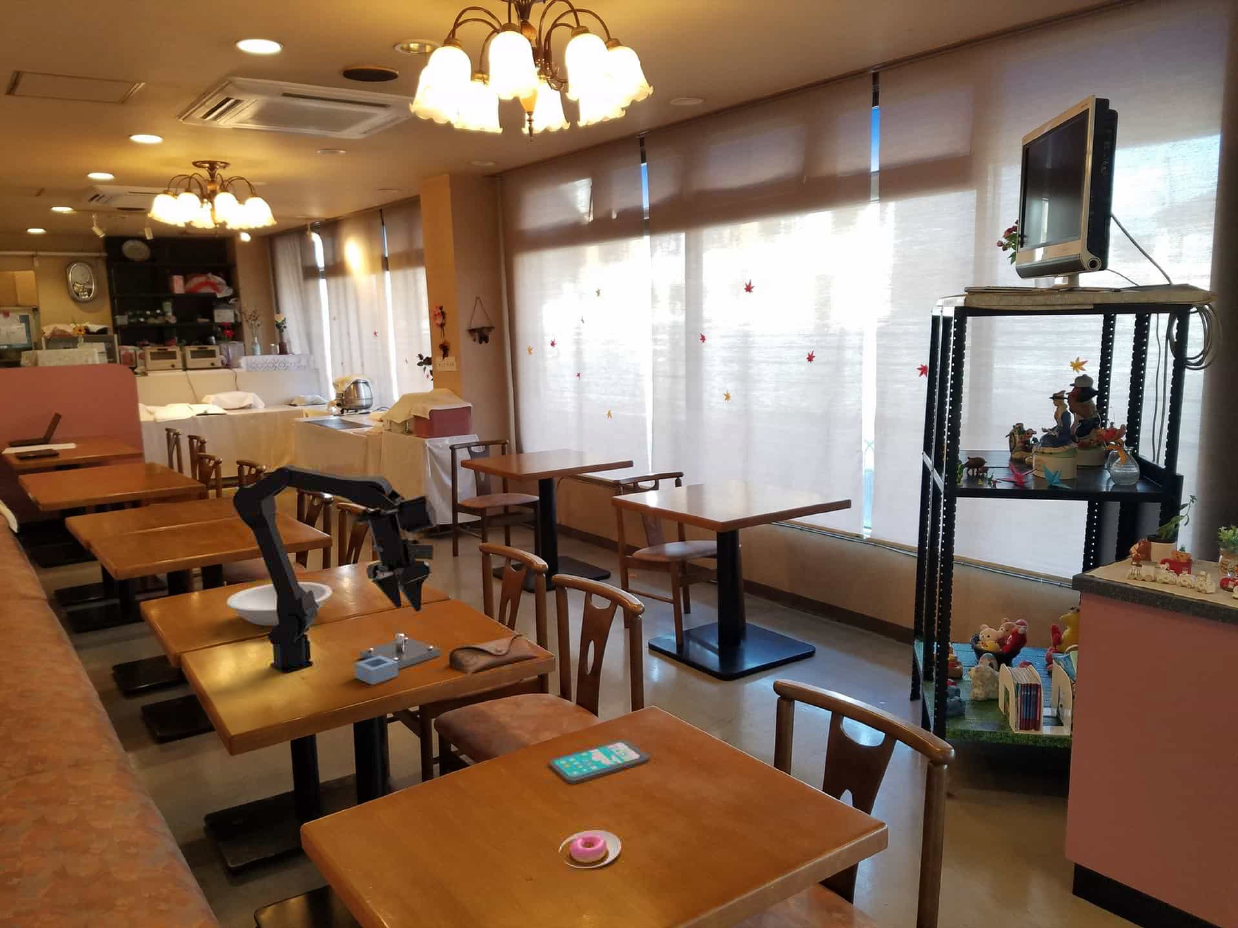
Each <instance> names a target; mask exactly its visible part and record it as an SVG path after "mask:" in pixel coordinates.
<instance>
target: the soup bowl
mask: <svg viewBox="0 0 1238 928" xmlns="http://www.w3.org/2000/svg"><path fill="white" fill-rule="evenodd" d="M298 584H299V586H300V587H301V588H302V589H303V590H304V591H305V592H308V591H310V590H312V591H313V594H314V599H315V601H316V603H317V604H318V605H319V607H318V608H317V611H318V610H320V609H321V607H322V606H323V604H324V603H325V601H326V600H327V599H328V598H329V597H330V596H332V594H333V590H332V588H331V587H329V586H328V585H325V584H322V583H316V582H310V581H308V582H306V581H305V582H303V581H300V582H299V581H298ZM225 603H226V605H227V607H228V608H230V609H232V610H235V612H236V613H237V614H238V615H239V616H240V617H241V618H243V619H244V620H246V621H247V622H249V623H252V624H255V625H260V626H266V627H267V626H269V627H270V626H274V627H276V626H277V625H278V624H279V622H278V617H277V612H276V606H277V594H276V591H275V589H274V586H273V583H269V584H264V585H259V586H254V587H251V588H246V589H243V590H241V591H238V592H236V593H234V594H232V595H230V596H229V597H228V598H227V599H226V602H225Z"/></svg>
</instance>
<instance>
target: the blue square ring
mask: <svg viewBox="0 0 1238 928" xmlns="http://www.w3.org/2000/svg"><path fill="white" fill-rule="evenodd" d="M354 669H355V670H354V671H355V672H354V674H355V678H356V679H358V680H360V681H362V682H365V683H368V684H370V685H377V684H379V683H383V682H385V681H388V680H390V679H393V678H394V679H395V678H397V677H399V670H398V664H397V662H396V661H394V660H391V659H388V658H386V657H383V656H381V655H380V656H377V657H373V658H370V659H367V660H364V659H363V660H361V661H359V662H355V663H354Z"/></svg>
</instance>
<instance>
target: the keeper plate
mask: <svg viewBox="0 0 1238 928" xmlns="http://www.w3.org/2000/svg"><path fill="white" fill-rule="evenodd" d="M394 636H395V640H393V641H389V642H386V643H383V644H380V645H379V644H378V645H375V646H373V647H368V648H366V649H364V650H360V651H359V652H360V653H359V656H360V659H362V660H363V661H364V660H367V659H370V658H373V657H377V656H380V655H381V656H383V657H386V658H388V659H391V660H394V661H396V662H397V664H398V671H399V670H401V669H404V668H407V667H410V666H413V665H416V664H419V663H421V662H422V663H423V662H424V661H427V660H432V659H433V658H436V657H440V656H441V648H439V647H436V646H433V645H430V644H428V643H425V642H422V641H419V640H416V639H413V638H410V637H408V636H405V634H404V633H403V632H397V633H395V634H394Z"/></svg>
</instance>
